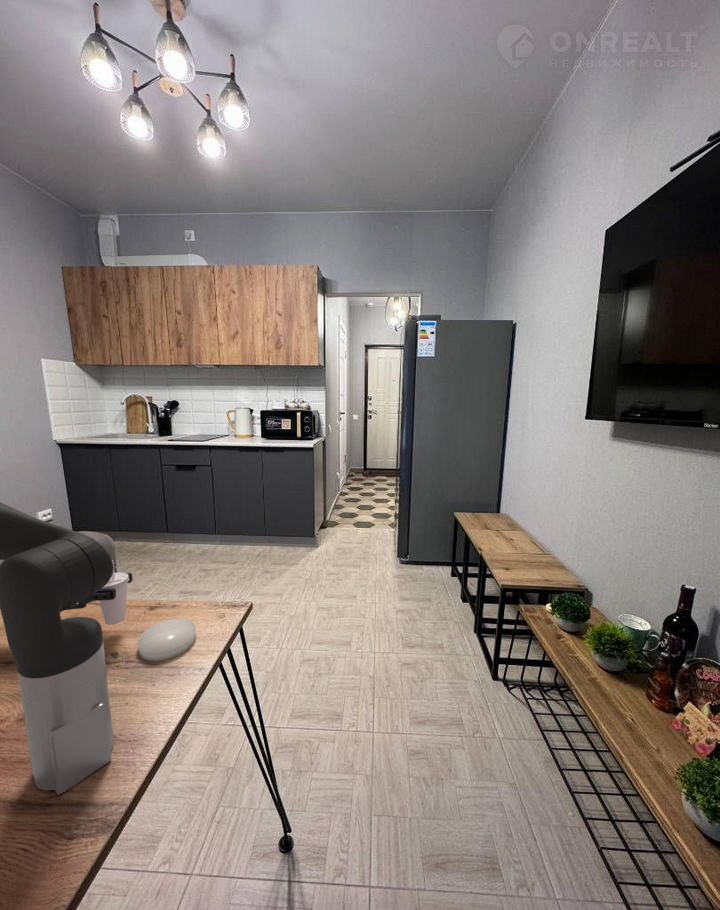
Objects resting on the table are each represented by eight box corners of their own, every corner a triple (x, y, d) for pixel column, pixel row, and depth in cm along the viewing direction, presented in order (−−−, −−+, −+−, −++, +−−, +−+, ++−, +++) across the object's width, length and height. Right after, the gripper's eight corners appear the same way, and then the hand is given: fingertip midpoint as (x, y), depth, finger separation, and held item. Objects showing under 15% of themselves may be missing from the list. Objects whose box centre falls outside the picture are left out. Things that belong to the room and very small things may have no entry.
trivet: (205, 640, 78) (205, 631, 78) (152, 669, 70) (151, 660, 69) (181, 620, 85) (180, 612, 85) (129, 645, 76) (129, 636, 76)
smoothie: (116, 630, 75) (109, 568, 73) (90, 626, 76) (83, 565, 74) (139, 612, 82) (134, 555, 80) (114, 609, 83) (109, 552, 80)
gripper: (8, 591, 68) (103, 586, 70) (61, 558, 82) (138, 555, 85) (14, 626, 69) (106, 621, 72) (64, 588, 84) (140, 584, 86)
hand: (123, 585), depth 78 cm, fingers closed on smoothie, 6 cm apart
